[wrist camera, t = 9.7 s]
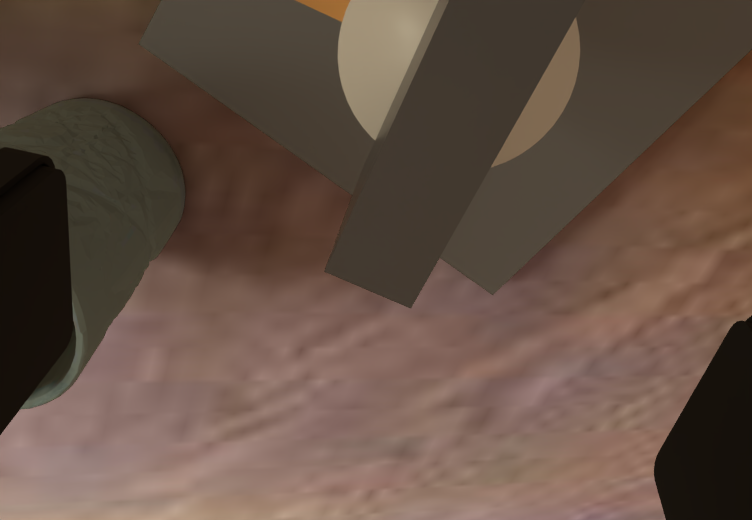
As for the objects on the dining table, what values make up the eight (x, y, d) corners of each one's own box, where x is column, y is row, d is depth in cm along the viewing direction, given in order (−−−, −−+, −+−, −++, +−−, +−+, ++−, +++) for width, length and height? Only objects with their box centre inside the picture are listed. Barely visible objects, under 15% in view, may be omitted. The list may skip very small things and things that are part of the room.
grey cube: (632, -54, 21) (711, 16, 14) (491, 190, 26) (491, 343, 18) (369, -185, 20) (297, -188, 13) (272, 92, 25) (178, 209, 18)
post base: (492, 278, 37) (493, 366, 31) (152, 35, 32) (76, 83, 26) (845, -63, 27) (946, -29, 21) (423, -477, 22) (398, -583, 17)
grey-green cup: (124, 289, 40) (1, 446, 30) (-29, 161, 37) (-223, 289, 27) (239, 185, 36) (139, 329, 26) (76, 30, 33) (-109, 124, 23)
